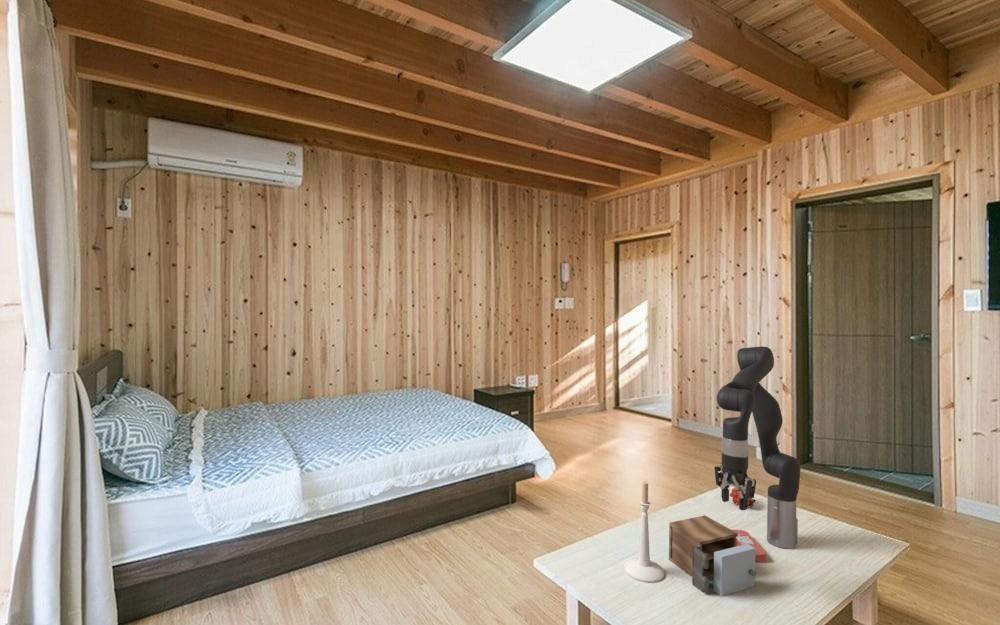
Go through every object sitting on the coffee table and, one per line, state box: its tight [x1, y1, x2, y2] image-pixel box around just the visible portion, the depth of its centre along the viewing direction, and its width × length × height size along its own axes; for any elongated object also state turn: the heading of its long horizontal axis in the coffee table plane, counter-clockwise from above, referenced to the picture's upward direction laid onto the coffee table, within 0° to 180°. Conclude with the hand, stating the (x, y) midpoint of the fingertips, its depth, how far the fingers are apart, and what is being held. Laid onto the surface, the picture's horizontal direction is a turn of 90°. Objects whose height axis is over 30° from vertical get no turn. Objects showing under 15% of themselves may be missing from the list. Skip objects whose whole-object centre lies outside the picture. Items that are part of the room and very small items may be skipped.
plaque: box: [732, 529, 767, 564], centre depth 169 cm, size 18×4×15 cm
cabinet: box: [668, 514, 738, 593], centre depth 154 cm, size 20×20×13 cm
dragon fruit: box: [729, 485, 756, 508], centre depth 205 cm, size 8×8×12 cm
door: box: [713, 544, 756, 597], centre depth 145 cm, size 4×14×12 cm, turn 112°
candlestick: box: [623, 481, 666, 584], centre depth 154 cm, size 13×13×30 cm
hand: (734, 505), depth 146 cm, fingers open, 6 cm apart
